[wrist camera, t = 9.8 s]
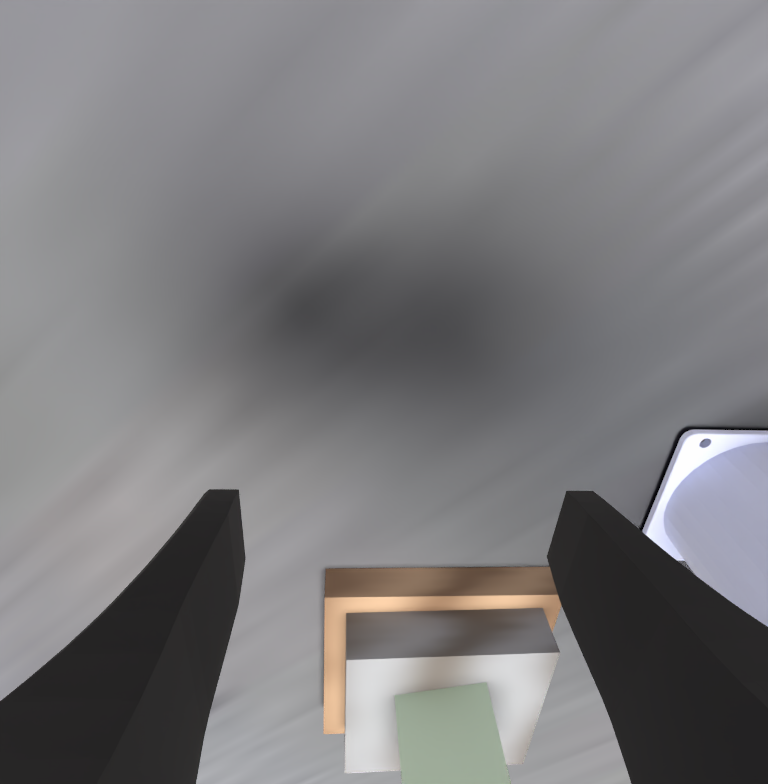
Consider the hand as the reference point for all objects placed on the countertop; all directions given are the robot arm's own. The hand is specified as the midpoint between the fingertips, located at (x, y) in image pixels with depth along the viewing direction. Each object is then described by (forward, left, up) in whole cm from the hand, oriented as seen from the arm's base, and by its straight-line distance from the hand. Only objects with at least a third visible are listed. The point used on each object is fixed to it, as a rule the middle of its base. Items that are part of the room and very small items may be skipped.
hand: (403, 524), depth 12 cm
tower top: (-4, +19, -9) cm, 21 cm away
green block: (-4, +19, -6) cm, 20 cm away
